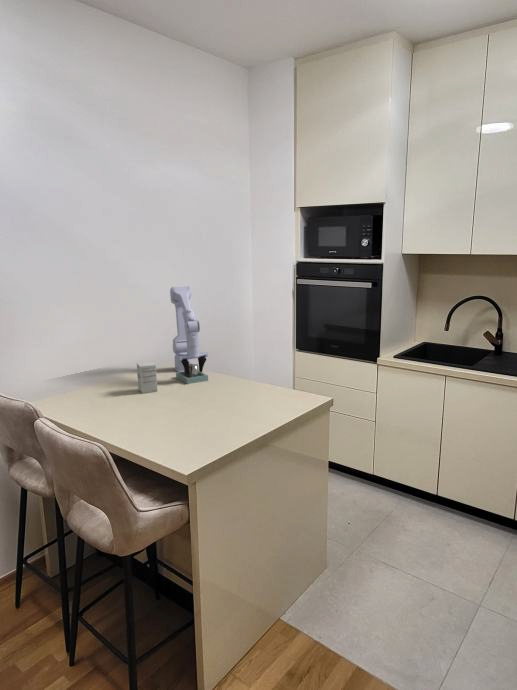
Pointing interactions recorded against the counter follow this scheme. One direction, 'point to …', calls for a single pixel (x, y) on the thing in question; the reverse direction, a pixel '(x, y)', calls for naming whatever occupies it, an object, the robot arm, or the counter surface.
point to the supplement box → (147, 377)
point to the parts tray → (193, 379)
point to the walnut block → (189, 372)
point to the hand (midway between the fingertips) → (194, 373)
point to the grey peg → (193, 370)
